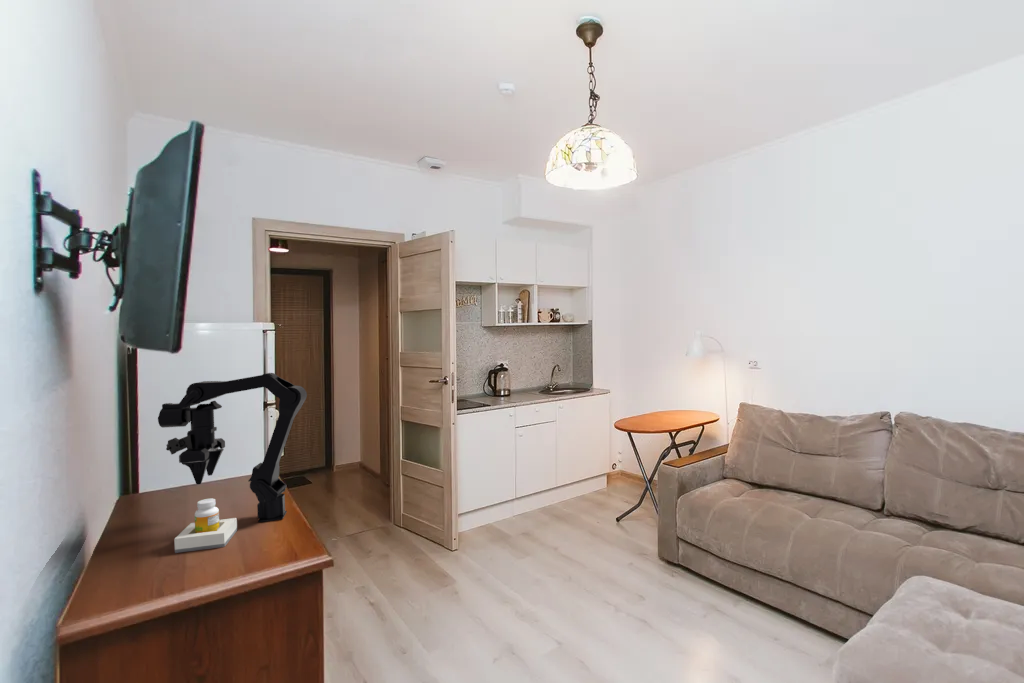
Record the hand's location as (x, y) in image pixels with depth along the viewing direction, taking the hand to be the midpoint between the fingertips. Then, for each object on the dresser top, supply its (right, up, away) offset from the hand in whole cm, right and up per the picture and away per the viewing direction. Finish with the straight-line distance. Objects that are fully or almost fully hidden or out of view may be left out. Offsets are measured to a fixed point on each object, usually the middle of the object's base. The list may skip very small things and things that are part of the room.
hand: (204, 479), depth 141 cm
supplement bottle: (+9, -12, -13) cm, 20 cm away
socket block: (+9, -12, -13) cm, 20 cm away
